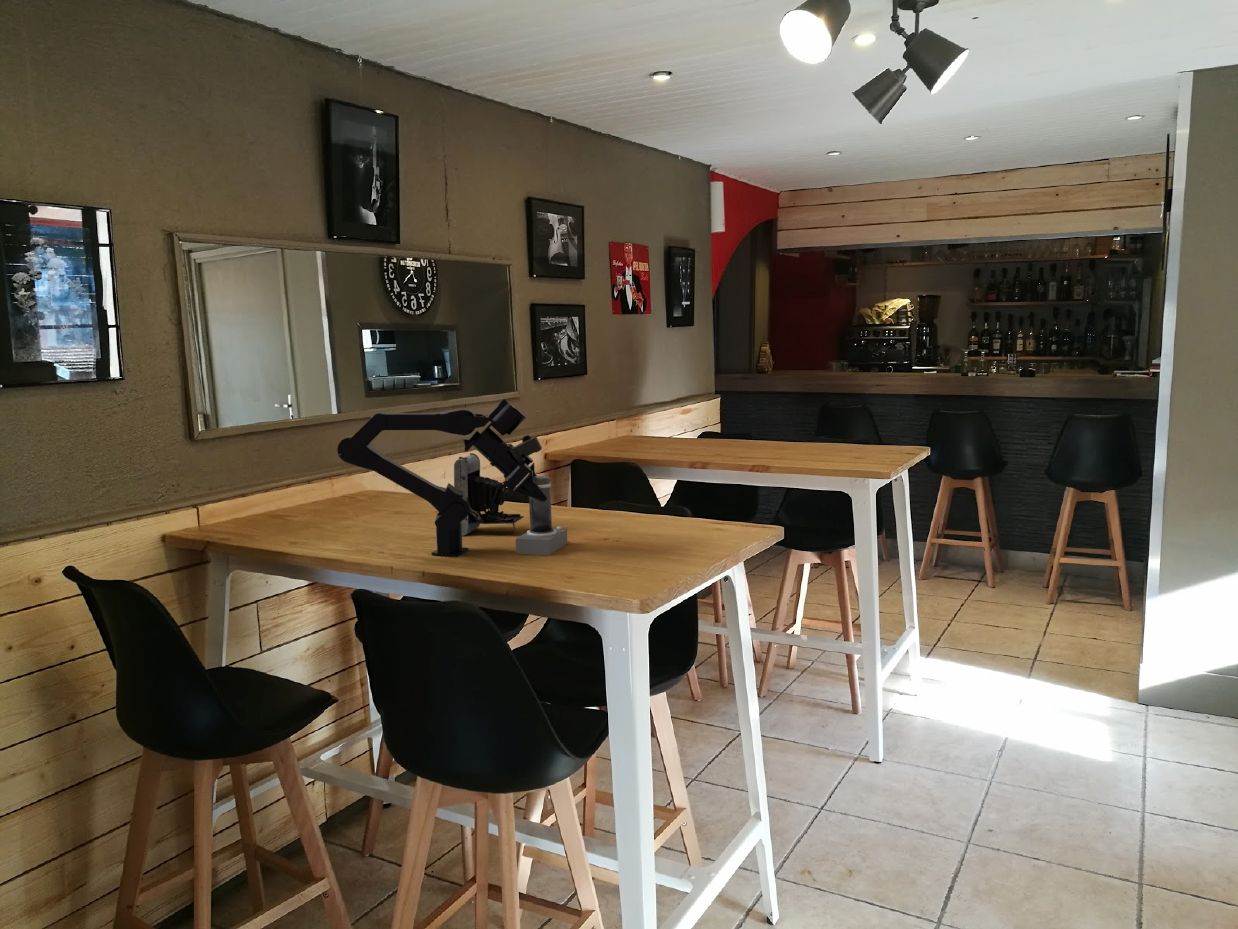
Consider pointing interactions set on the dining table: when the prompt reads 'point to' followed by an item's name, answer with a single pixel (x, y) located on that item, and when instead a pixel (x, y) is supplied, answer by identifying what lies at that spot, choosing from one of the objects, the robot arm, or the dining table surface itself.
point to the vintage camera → (481, 495)
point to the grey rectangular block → (541, 542)
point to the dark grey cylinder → (541, 507)
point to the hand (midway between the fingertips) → (546, 496)
